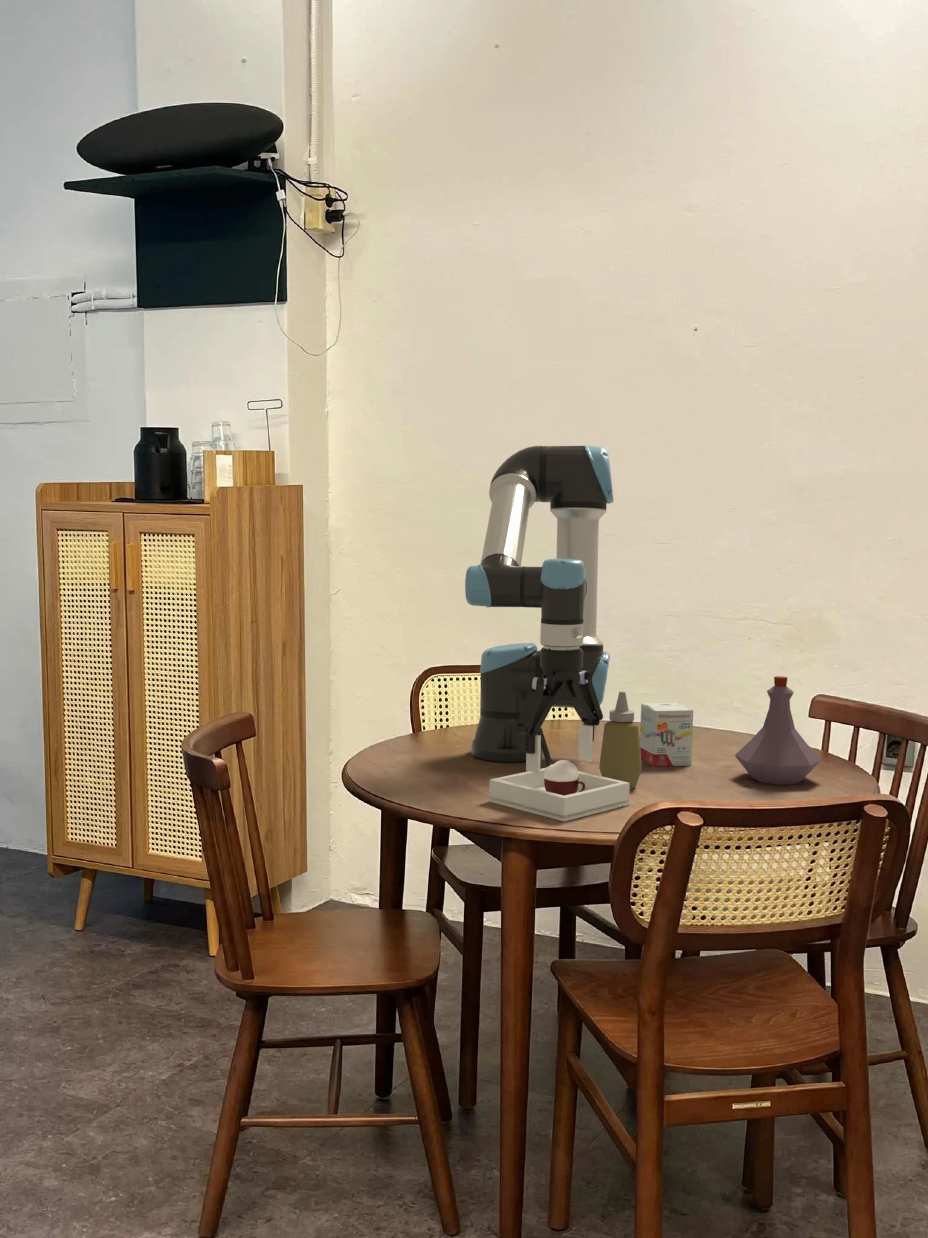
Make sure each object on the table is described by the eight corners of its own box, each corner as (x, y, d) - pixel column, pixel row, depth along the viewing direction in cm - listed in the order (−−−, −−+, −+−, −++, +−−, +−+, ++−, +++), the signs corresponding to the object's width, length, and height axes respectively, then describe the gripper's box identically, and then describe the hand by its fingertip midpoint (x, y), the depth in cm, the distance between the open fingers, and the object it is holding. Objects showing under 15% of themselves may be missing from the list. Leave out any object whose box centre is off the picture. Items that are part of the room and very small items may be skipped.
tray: (554, 786, 234) (554, 765, 234) (629, 805, 221) (629, 782, 221) (489, 801, 223) (489, 779, 222) (564, 821, 210) (564, 798, 209)
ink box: (652, 767, 252) (654, 709, 251) (638, 758, 260) (639, 702, 259) (692, 765, 254) (694, 708, 253) (677, 757, 262) (678, 701, 261)
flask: (715, 775, 245) (719, 674, 243) (774, 766, 254) (778, 669, 252) (779, 793, 231) (783, 686, 229) (839, 782, 240) (843, 679, 238)
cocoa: (589, 802, 220) (594, 735, 219) (562, 805, 217) (567, 738, 215) (554, 789, 228) (559, 724, 227) (527, 792, 224) (532, 727, 223)
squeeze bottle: (595, 781, 239) (597, 688, 237) (636, 781, 239) (639, 688, 237) (602, 792, 231) (604, 695, 229) (645, 791, 231) (648, 695, 229)
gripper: (527, 655, 208) (525, 780, 210) (624, 643, 225) (621, 759, 227) (496, 650, 213) (494, 772, 216) (592, 639, 230) (590, 753, 233)
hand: (559, 766), depth 221 cm, fingers open, 13 cm apart
